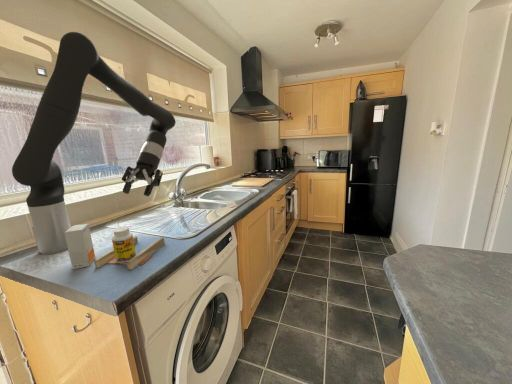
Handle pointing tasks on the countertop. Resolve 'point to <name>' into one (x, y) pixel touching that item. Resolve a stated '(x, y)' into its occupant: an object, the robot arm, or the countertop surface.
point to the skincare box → (80, 246)
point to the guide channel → (134, 261)
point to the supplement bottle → (123, 245)
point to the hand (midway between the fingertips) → (135, 194)
